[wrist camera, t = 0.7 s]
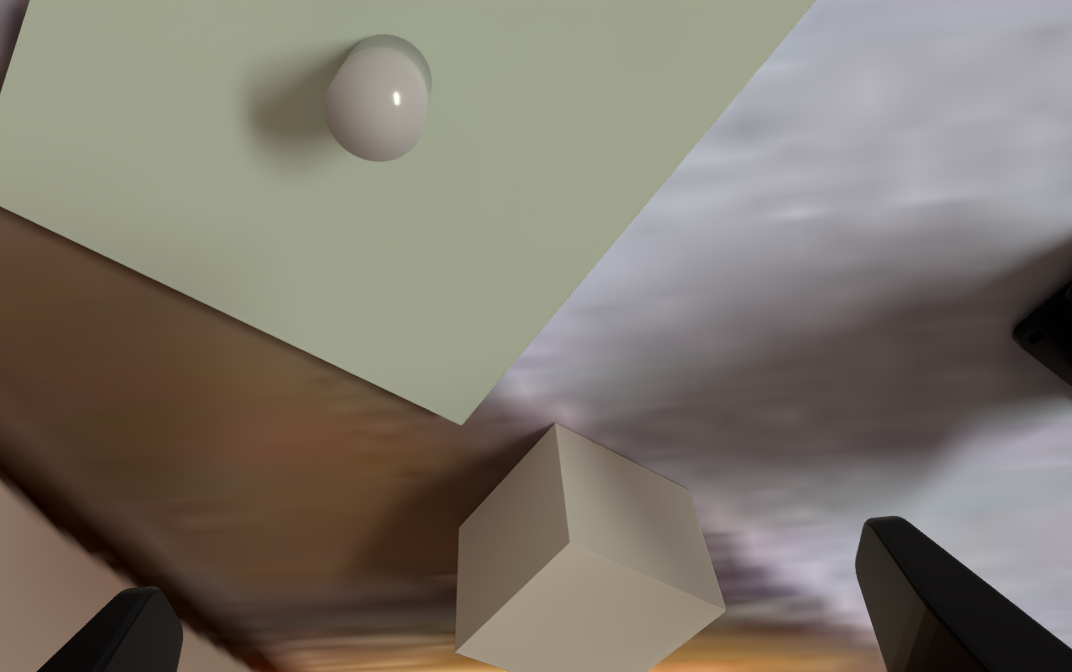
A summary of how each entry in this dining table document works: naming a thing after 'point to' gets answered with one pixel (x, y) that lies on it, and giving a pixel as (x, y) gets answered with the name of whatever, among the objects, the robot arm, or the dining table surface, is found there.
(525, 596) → the block
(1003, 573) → the dining table surface
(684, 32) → the stub plate
